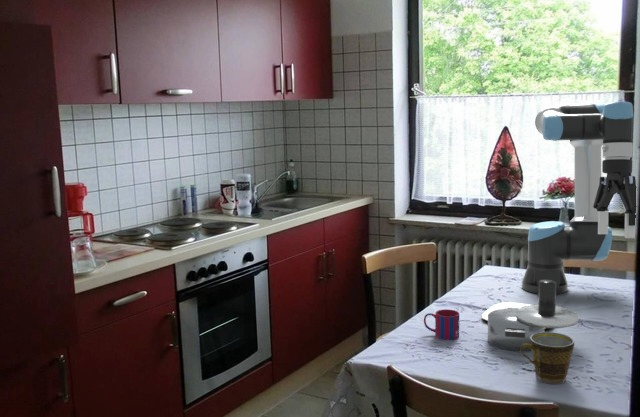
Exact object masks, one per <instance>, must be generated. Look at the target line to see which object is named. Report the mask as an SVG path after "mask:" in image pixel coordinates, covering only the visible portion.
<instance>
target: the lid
mask: <svg viewBox="0 0 640 417" xmlns="http://www.w3.org/2000/svg"><path fill="white" fill-rule="evenodd" d="M556 297H557V294H556V282H555V281H553V280H540V281H539V294H538V303H537V304H530V306H524V307H521V308H519V309H517V311H516V318H517V319H518V320H519V321H521V322H522V323H525V324H528V325H531V326H536V327H542V328H547V329H564V328H568V327H569V328H570V327H573V326H575V325H577V324H578V322H579V314H578V313H576V312H575V311H573V310H571V309H570V308H566V307H563V306H558V305H556V302H557V298H556Z"/></svg>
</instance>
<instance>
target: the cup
mask: <svg viewBox="0 0 640 417" xmlns="http://www.w3.org/2000/svg"><path fill="white" fill-rule="evenodd" d="M428 316H432V317H433V318H434V320H435V323H434V324H435V325H434V327H435V328H431V327H430V326H428V324H427V321H426V319H427V317H428ZM423 324H424V326H425V328H426V329H427V330H429V331H431V332H433V333H435V334H434V335H435V337H436V338H437V339H440V340H445V341H451V340H452V341H453V340H457V339H458V338H460V312H459V311H457V310H454V309H438V310H436V312H435V313H432V312H431V313H430V312H428V313H426V314H425V315H424V317H423Z"/></svg>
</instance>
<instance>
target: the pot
mask: <svg viewBox="0 0 640 417" xmlns="http://www.w3.org/2000/svg"><path fill="white" fill-rule="evenodd" d="M517 309H519V308H508V309H499V310H495V311H492V312H490V313H489V314H488V321H487V342H488V343H489V344H490V345H491V346H493V347H494V348H496V349H497V348H498V349H501V350H504V351H510V352H520V348H521V346H522V345H523V344H526V343H527V344H530V345H531V343H530V337H531V335H533V334H535V333H540V332H545V329H544V328H542V327H536V326H531V325H528V324H525V323H522V322H521V321H519V320H518V319H517V318H516V311H517ZM524 352H532V350H531V348H530V347H524V348H523V349H522V353H524Z"/></svg>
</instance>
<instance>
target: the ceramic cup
mask: <svg viewBox="0 0 640 417" xmlns="http://www.w3.org/2000/svg"><path fill="white" fill-rule="evenodd" d="M530 343H531V345H530V344H527V343H526V344H523V345H522V346H521V348H520V351H519V352H520V354H521V355H522V356H523V357H524V358H526V359H527V360H528V361H529V362H531V364H533V367H534V371H535V378H536V379H537V380H538V381H539V382H541V383H543V384H544V383H545V384H548V385H560V383H561V384H563V383H564V382H565V381H566V379H567V376H568V371H569V367H570V364H571V363H570V362H571V360H572V359H571V358H572V355H573V350H574V346H575V339H574V338H573V337H571V336H570V335H566V334H563V333H561V332H552V331H551V332H550V331H544V332H540V333H535V334H533V335H531V337H530ZM524 347H530V348H531V350H532V351H531V353H532V359H531V358H530V357H529V356H528V355H526V354H525V353H524V352H522V349H523V348H524Z"/></svg>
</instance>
